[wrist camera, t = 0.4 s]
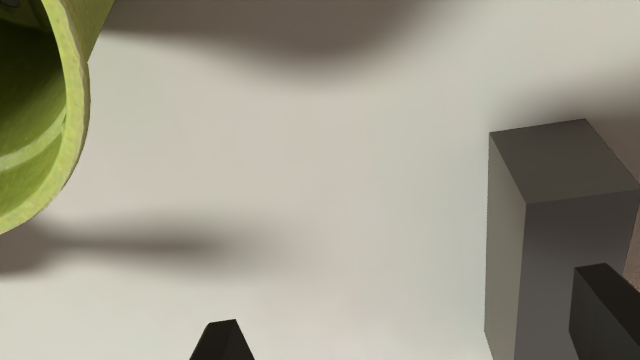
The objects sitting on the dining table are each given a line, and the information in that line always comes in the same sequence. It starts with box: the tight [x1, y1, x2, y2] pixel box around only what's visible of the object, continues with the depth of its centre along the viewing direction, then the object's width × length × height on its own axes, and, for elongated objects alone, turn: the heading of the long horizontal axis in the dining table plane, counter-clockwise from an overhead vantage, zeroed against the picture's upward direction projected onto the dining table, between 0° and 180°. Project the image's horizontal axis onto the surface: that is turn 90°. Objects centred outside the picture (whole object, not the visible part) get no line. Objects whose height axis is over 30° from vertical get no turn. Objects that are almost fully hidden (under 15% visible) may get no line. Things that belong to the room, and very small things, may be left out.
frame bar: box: [484, 119, 640, 360], centre depth 22 cm, size 12×4×4 cm, turn 10°
